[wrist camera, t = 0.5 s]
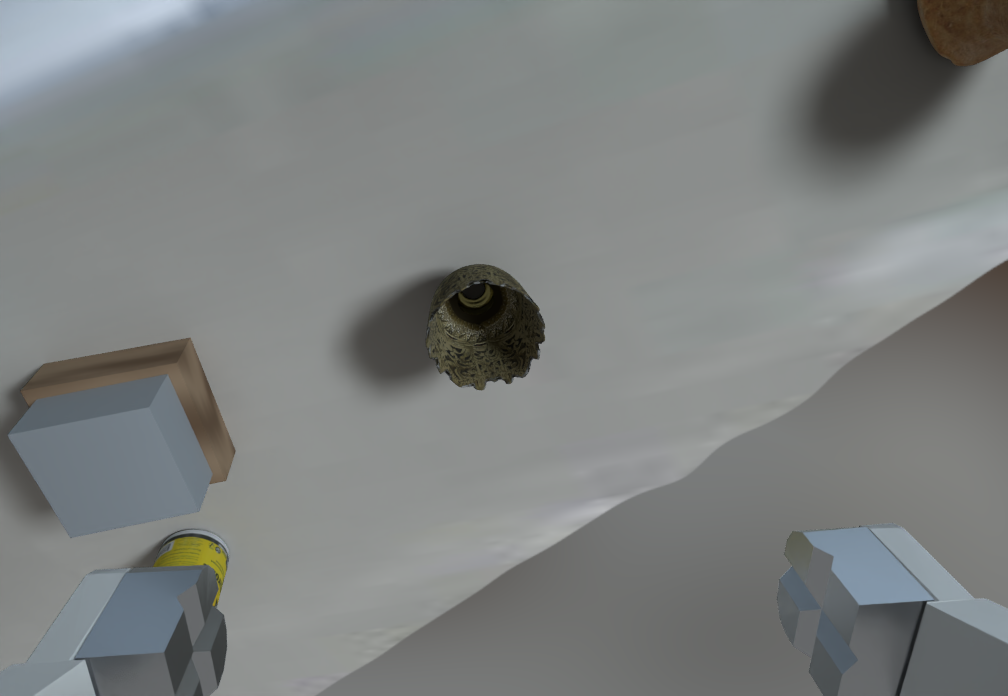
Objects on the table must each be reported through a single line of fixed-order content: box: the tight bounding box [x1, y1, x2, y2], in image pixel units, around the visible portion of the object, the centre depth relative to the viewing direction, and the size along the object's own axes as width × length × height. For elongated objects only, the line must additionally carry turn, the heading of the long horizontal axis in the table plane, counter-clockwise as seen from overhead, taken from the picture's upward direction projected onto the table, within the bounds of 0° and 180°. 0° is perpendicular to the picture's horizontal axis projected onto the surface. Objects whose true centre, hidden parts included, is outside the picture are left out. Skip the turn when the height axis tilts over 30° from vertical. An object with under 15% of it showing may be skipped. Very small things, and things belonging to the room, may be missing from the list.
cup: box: [426, 264, 545, 390], centre depth 47 cm, size 8×7×8 cm
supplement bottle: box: [153, 529, 229, 608], centre depth 54 cm, size 5×5×10 cm
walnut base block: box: [20, 338, 235, 484], centre depth 50 cm, size 10×10×4 cm
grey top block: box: [8, 374, 213, 538], centre depth 46 cm, size 8×8×4 cm
